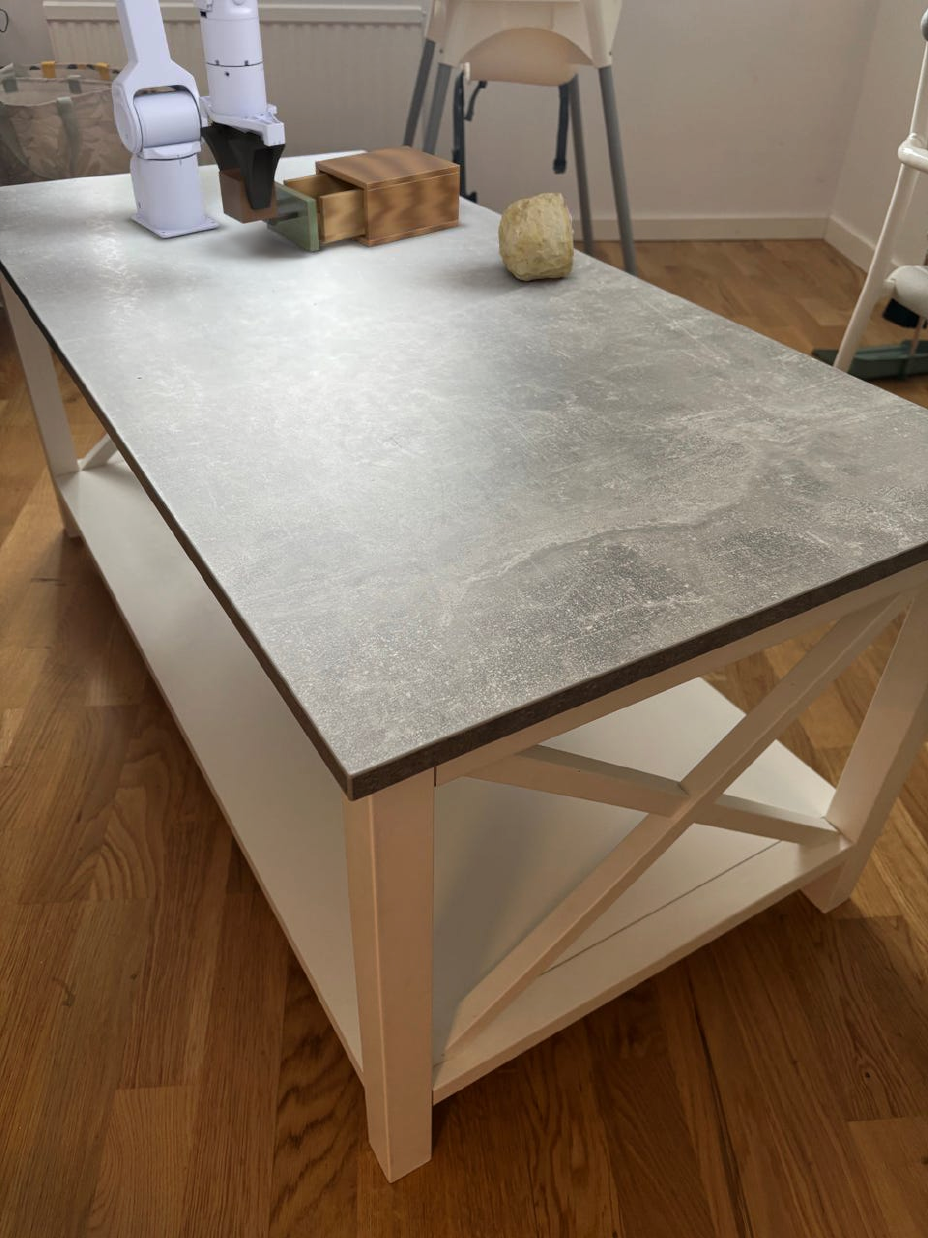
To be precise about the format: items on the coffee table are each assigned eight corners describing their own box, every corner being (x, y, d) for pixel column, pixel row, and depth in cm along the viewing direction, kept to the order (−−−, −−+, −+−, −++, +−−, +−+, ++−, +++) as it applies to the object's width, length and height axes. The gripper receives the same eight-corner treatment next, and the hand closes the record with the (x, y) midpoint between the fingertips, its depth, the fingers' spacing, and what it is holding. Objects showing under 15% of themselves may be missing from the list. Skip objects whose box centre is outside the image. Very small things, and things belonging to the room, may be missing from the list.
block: (223, 213, 107) (218, 171, 104) (258, 206, 109) (253, 164, 106) (242, 224, 104) (238, 181, 101) (278, 216, 106) (274, 174, 103)
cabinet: (369, 247, 121) (366, 183, 116) (318, 222, 127) (314, 161, 123) (458, 225, 128) (460, 164, 123) (406, 203, 135) (406, 145, 130)
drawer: (281, 258, 114) (277, 207, 111) (238, 234, 120) (232, 185, 117) (400, 230, 123) (399, 182, 119) (354, 209, 129) (352, 163, 125)
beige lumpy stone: (609, 228, 107) (533, 193, 103) (564, 308, 113) (490, 277, 109) (587, 195, 114) (515, 161, 110) (546, 272, 120) (476, 242, 116)
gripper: (306, 69, 95) (316, 212, 103) (234, 45, 103) (248, 179, 112) (242, 77, 91) (258, 224, 100) (173, 51, 99) (193, 189, 108)
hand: (249, 201), depth 106 cm, fingers closed on block, 4 cm apart
